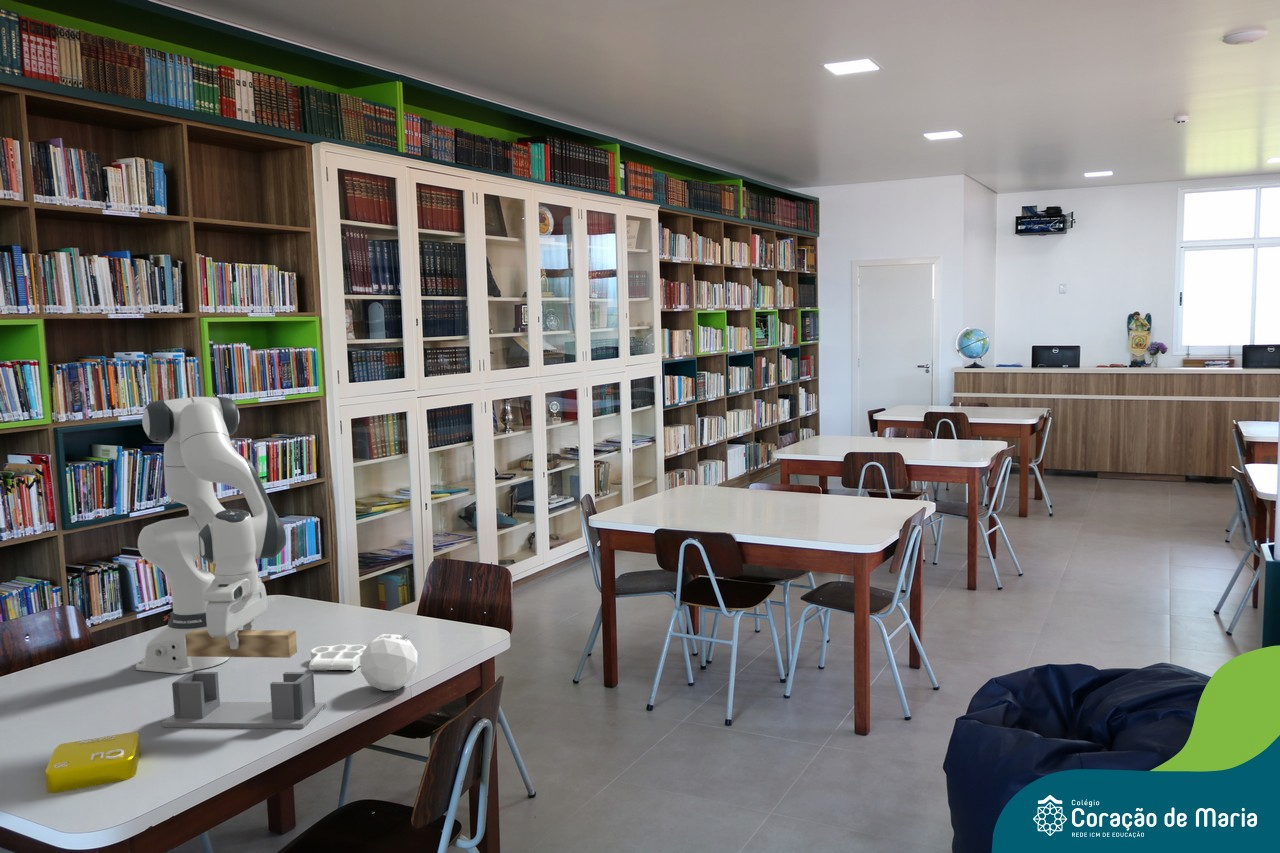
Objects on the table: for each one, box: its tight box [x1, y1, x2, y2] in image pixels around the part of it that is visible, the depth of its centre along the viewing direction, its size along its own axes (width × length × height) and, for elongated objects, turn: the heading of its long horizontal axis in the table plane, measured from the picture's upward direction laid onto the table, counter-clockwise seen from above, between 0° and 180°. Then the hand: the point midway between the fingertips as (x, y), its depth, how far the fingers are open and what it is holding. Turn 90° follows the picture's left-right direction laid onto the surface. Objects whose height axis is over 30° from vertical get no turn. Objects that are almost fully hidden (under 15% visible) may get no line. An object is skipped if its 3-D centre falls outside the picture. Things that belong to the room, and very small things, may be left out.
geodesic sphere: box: [360, 633, 419, 692], centre depth 229 cm, size 14×14×14 cm
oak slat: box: [185, 629, 298, 659], centre depth 212 cm, size 24×4×5 cm, turn 84°
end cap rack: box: [161, 671, 327, 729], centre depth 214 cm, size 32×12×9 cm, turn 85°
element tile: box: [44, 731, 141, 794], centre depth 188 cm, size 15×15×5 cm
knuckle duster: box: [308, 643, 368, 671], centre depth 249 cm, size 3×18×15 cm
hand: (241, 644), depth 212 cm, fingers closed on oak slat, 4 cm apart
